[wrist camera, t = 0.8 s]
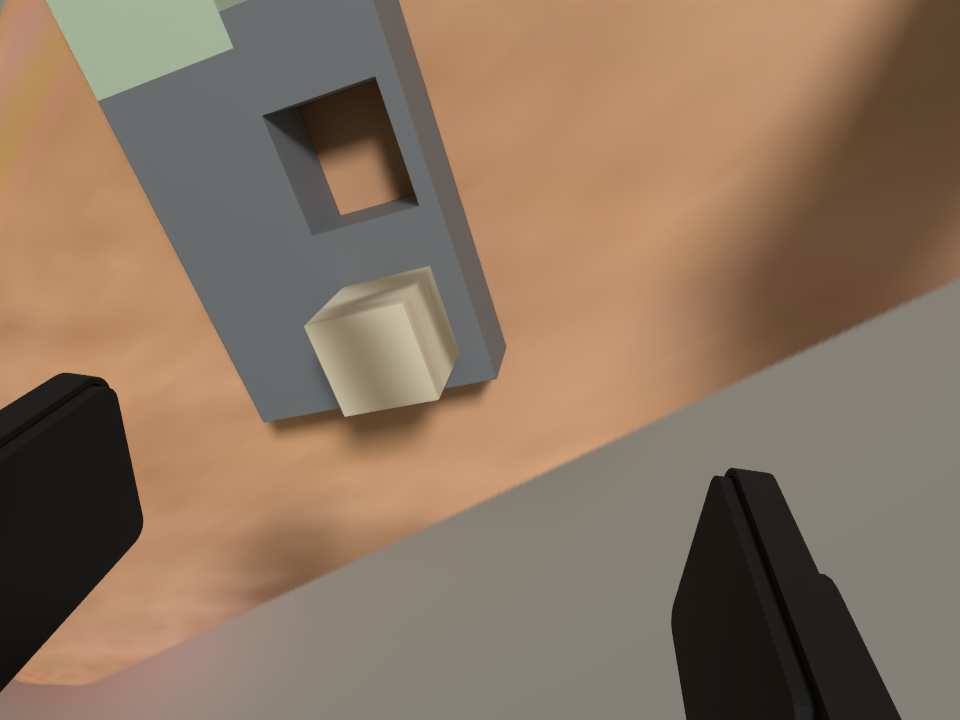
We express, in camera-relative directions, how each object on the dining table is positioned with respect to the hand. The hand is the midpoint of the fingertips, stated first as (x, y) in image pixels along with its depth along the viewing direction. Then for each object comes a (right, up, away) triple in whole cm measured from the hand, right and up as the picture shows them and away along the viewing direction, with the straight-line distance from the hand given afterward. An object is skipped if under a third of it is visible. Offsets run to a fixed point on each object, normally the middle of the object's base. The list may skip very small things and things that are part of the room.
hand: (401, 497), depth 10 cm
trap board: (-8, +14, +24) cm, 29 cm away
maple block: (-3, +4, +24) cm, 24 cm away
